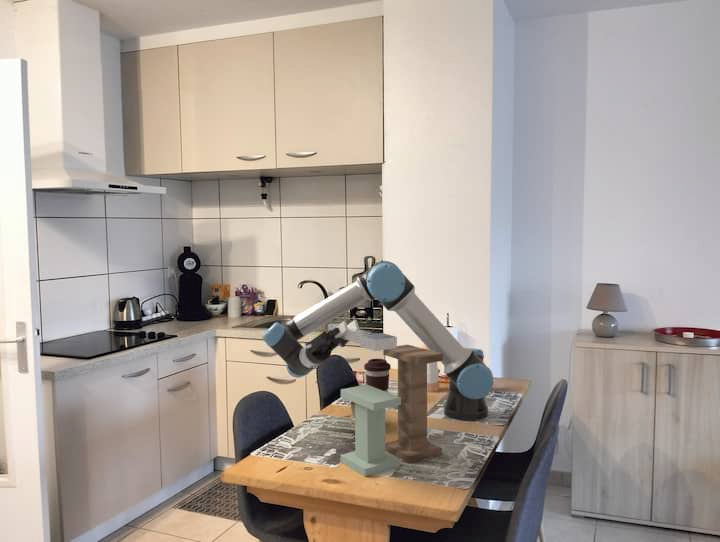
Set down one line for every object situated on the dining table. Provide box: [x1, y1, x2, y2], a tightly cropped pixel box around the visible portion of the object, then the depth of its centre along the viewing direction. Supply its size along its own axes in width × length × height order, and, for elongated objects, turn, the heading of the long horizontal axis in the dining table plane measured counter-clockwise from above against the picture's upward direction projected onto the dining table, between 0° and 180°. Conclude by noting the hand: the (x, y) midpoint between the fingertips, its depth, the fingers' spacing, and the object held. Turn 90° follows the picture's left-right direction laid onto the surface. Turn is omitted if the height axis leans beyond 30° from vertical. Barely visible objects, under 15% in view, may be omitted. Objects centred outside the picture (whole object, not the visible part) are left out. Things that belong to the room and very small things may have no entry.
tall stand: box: [382, 344, 443, 465], centre depth 176 cm, size 16×12×30 cm
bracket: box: [327, 323, 398, 352], centre depth 170 cm, size 27×7×3 cm, turn 34°
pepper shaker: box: [421, 344, 440, 393], centre depth 242 cm, size 7×7×19 cm
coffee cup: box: [363, 358, 391, 393], centre depth 229 cm, size 10×10×15 cm
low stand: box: [340, 384, 402, 477], centre depth 168 cm, size 16×12×20 cm
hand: (351, 324), depth 173 cm, fingers closed on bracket, 3 cm apart
